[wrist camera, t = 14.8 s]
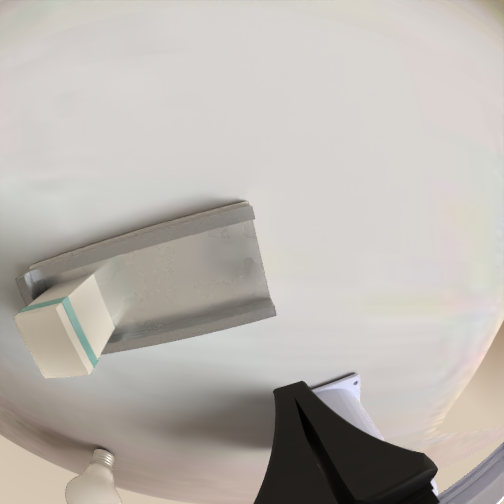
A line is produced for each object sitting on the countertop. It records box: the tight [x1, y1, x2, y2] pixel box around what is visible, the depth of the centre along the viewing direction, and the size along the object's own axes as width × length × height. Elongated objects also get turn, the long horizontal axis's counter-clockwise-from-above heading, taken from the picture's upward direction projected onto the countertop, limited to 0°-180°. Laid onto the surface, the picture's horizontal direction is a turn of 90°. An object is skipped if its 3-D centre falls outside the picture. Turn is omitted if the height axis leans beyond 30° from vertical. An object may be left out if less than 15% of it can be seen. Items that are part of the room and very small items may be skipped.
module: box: [13, 274, 115, 378], centre depth 16 cm, size 5×4×6 cm
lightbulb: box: [65, 449, 122, 504], centre depth 18 cm, size 6×6×11 cm
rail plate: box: [16, 201, 277, 355], centre depth 18 cm, size 8×18×3 cm, turn 103°
